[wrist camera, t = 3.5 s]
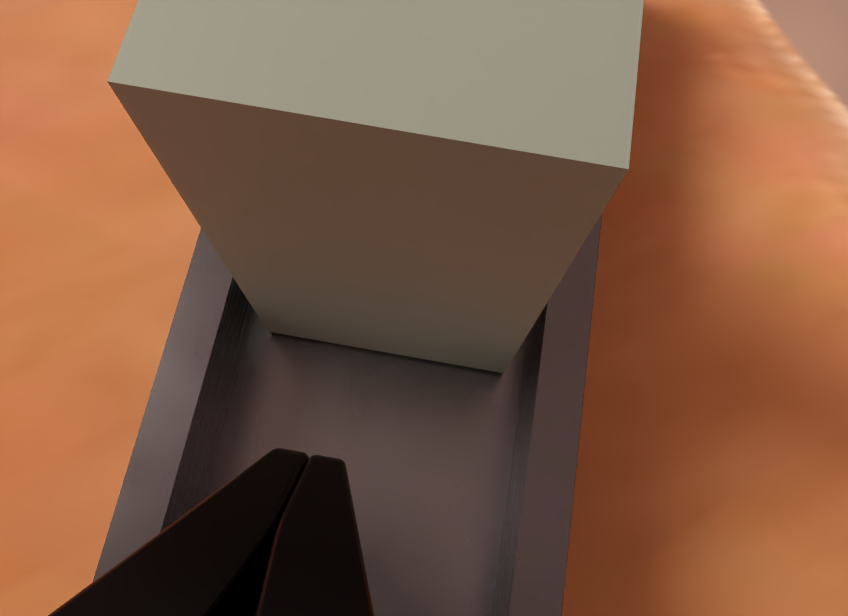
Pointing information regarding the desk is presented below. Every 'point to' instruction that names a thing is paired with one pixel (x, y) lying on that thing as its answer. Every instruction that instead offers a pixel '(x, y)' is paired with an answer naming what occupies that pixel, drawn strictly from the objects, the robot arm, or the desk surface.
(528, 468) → the steel chute
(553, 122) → the block
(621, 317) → the desk surface
